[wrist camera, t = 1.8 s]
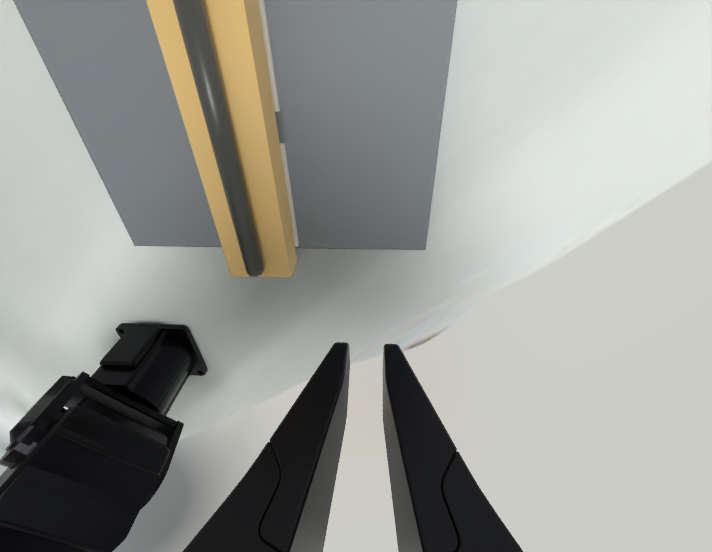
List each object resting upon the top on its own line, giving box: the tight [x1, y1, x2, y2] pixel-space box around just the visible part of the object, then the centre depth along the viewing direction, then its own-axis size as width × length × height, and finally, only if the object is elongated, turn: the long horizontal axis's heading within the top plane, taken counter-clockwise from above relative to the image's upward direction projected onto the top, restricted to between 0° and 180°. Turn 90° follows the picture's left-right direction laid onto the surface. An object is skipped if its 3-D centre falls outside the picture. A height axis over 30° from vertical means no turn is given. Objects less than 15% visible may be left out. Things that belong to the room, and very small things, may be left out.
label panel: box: [13, 0, 457, 250], centre depth 16 cm, size 19×20×2 cm
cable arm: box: [146, 0, 297, 278], centre depth 13 cm, size 19×4×3 cm, turn 1°
